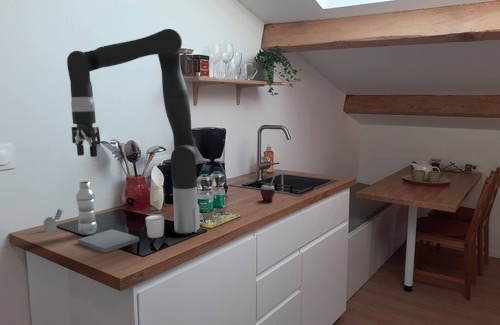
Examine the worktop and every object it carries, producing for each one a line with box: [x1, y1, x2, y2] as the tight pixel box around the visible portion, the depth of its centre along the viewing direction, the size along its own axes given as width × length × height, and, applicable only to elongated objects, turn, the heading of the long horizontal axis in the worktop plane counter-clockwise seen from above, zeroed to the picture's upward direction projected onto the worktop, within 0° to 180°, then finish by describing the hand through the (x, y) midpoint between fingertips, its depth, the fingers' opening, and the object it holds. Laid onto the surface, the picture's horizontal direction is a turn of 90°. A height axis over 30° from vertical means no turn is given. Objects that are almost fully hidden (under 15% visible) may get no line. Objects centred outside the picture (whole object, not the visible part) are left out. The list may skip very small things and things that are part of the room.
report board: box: [77, 229, 140, 254], centre depth 144 cm, size 16×14×2 cm
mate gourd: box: [260, 171, 280, 203], centre depth 202 cm, size 8×8×15 cm
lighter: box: [42, 208, 64, 233], centre depth 158 cm, size 7×2×8 cm, turn 133°
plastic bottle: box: [75, 180, 98, 236], centre depth 152 cm, size 6×7×20 cm
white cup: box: [145, 214, 165, 239], centre depth 151 cm, size 7×7×7 cm
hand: (87, 156), depth 144 cm, fingers open, 8 cm apart
